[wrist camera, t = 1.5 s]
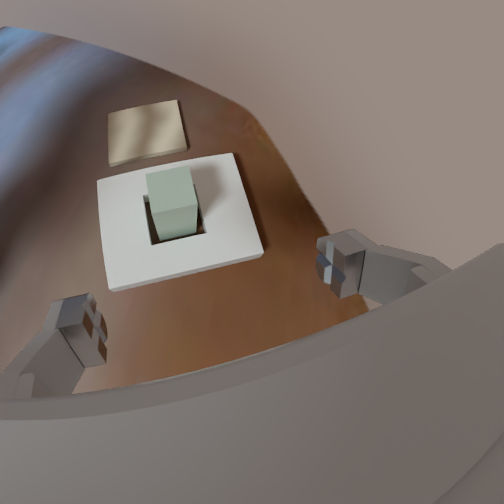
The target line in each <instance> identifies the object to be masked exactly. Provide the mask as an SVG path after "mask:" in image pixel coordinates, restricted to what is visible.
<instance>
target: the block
mask: <svg viewBox="0 0 504 504" xmlns="http://www.w3.org/2000/svg"><path fill="white" fill-rule="evenodd" d="M145 175H146V182H147V189H148V195H149V202H150V208H151V214H152V217H153V220H154V224H155V227H156V230H157V233H158V236H159V240H160V241H163V240H167V239H172V238H176V237H180V236H185V235H189V234H194V233H196V226H197V208H198V203H197V199H196V195H195V190H194V186H193V182H192V178H191V173H190V169H189V165H188V166H183V167H178V168H172V169H167V170H162V171H158V172H153V173H148V174H145Z"/></svg>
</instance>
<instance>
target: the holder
mask: <svg viewBox="0 0 504 504" xmlns="http://www.w3.org/2000/svg"><path fill="white" fill-rule="evenodd" d="M188 165H189V169H190V173H191V178H192V182H193V186H194V190H195V195H196V199H197V203H198V208H199V212H200V216H201V220H202V224H203V228H204V232H205V233H204V234H200V235H195V236H191V237H186V238H182V239H177V240H173V241H169V242H164V243H160V244H156V245H152V241H151V235H150V230H149V224H148V218H147V212H146V206H145V202H149V195H148V189H147V182H146V175H145V174H148V173H153V172H158V171H162V170H167V169H172V168H178V167H183V166H188ZM97 191H98V207H99V219H100V229H101V238H102V247H103V254H104V261H105V268H106V274H107V280H108V286H109V290H111V291H113V292H116V291H121V290H125V289H129V288H133V287H138V286H142V285H146V284H150V283H155V282H159V281H163V280H167V279H172V278H176V277H180V276H184V275H189V274H193V273H197V272H201V271H205V270H210V269H214V268H218V267H222V266H226V265H230V264H235V263H239V262H243V261H247V260H251V259H255V258H259V257H261V256H262V254H263V253H264V251H263V248H262V245H261V241H260V238H259V235H258V232H257V229H256V225H255V222H254V219H253V216H252V213H251V210H250V207H249V203H248V200H247V197H246V194H245V191H244V188H243V185H242V181H241V178H240V175H239V172H238V169H237V166H236V163H235V160H234V157H233V153H228V154H221V155H214V156H208V157H202V158H196V159H190V160H185V161H179V162H174V163H169V164H164V165H159V166H154V167H150V168H145V169H141V170H136V171H132V172H128V173H124V174H119V175H115V176H112V177H108V178H104V179H100V180H97Z"/></svg>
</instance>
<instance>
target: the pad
mask: <svg viewBox="0 0 504 504" xmlns="http://www.w3.org/2000/svg"><path fill="white" fill-rule="evenodd" d="M181 151H187V145H186V141H185V136H184V132H183V127H182V122H181V118H180V113H179V108H178V103H177V100H172V101H166V102H160V103H155V104H149V105H144V106H139V107H134V108H130V109H125V110H121V111H117V112H113V113H109V114H108V155H109V165H110V167H112V166H116V165H120V164H124V163H128V162H133V161H137V160H141V159H146V158H151V157H155V156H160V155H165V154H170V153H176V152H181Z"/></svg>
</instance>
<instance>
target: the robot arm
mask: <svg viewBox="0 0 504 504" xmlns="http://www.w3.org/2000/svg"><path fill="white" fill-rule="evenodd" d="M316 249H317V250H318V251H319V255H318V257H317V258H316V270H317V274H318V275H319V277H320V279H321V280H322V281H323V282H325V283H328V284H330V289H331V290H332V291H333V292H334V294H335V295H336V296H337V297H338V298H339V299H341V298H344V297H347V296H350V295H353V294H356V293H359V294H360V295H363V296H365V297H367V298H370V299H372V300H374V301H376V302H379V303H381V304H383V305H382V306H380V307H378V308H375V309H373V310H371V311H369V312H366V313H364V314H362V315H359V316H357V317H355V318H352V319H350V320H347V321H345V322H342V323H340V324H337V325H335V326H332V327H330V328H327V329H325V330H322V331H319V332H317V333H314V334H311V335H309V336H306V337H303V338H300V339H298V340H295V341H292V342H289V343H286V344H283V345H280V346H277V347H274V348H271V349H268V350H265V351H262V352H259V353H256V354H253V355H250V356H246V357H243V358H240V359H236V360H233V361H230V362H226V363H223V364H219V365H216V366H212V367H208V368H204V369H201V370H197V371H193V372H189V373H185V374H180V375H176V376H172V377H168V378H163V379H159V380H154V381H149V382H144V383H139V384H134V385H129V386H123V387H118V388H112V389H106V390H99V391H93V392H85V393H78V394H72V392H73V390H74V388H75V386H76V384H77V383H78V381H79V379H80V377H81V375H82V374H83V372H84V370H85V369H84V368H88V367H93V366H98V365H102V364H106V356H107V349H106V347H105V345H104V343H105V342H106V340H107V328H106V323H105V320H104V318H103V316H102V314H101V313H100V312H99V311H97V310H96V301H95V299H94V297H93V295H92V294H91V293H87V294H83V295H78V296H74V297H69V298H64V299H60V300H56V301H53V302H52V303H51V306H50V309H49V312H48V315H47V318H46V321H45V324H44V328H43V331H42V332H39V333H38V334H37V335H36V336H35V337H34V338H33V339H32V340H31V341H30V342H29V343H28V344H27V345H26V347H25V348H24V349H23V350H22V351H21V352H20V353H19V354H18V355H17V356H16V358H15V359H14V360H13V361H12V362H11V363H10V364H9V366H8V367H7V368H6V369H5V370H4V371H3V373H2V374H1V375H0V504H504V244H503V243H502V244H501V243H500V244H497V245H495V246H493V247H492V248H490V249H489V250H487V251H485V252H484V253H482V254H480V255H479V256H477V257H475V258H474V259H472V260H470V261H468V262H467V263H465V264H463V265H461V266H460V267H458V268H456V269H454V270H451V269H450V268H448V267H447V266H446V265H444V264H443V263H441V262H440V261H438V260H437V259H435V258H433V257H429V256H424V255H421V254H417V253H413V252H409V251H405V250H400V249H396V248H392V247H388V246H384V245H381V246H378V245H377V244H376V243H374V242H373V241H371V240H370V239H368V238H367V237H365V236H364V235H362V234H361V233H359V232H358V231H356V230H355V229H349V230H346V231H342V232H339V233H335V234H332V235H328V236H324V237H321V238H318V241H317V248H316Z"/></svg>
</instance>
